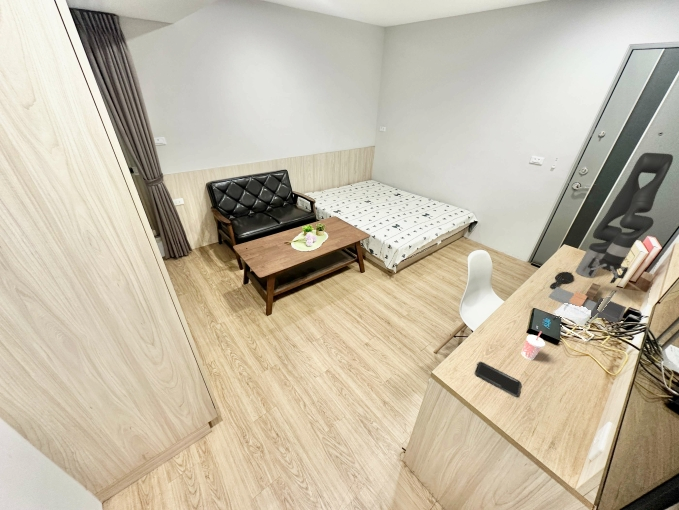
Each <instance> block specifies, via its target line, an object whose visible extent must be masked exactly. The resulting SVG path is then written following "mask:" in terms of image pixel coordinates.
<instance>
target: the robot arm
mask: <svg viewBox="0 0 679 510" xmlns="http://www.w3.org/2000/svg"><path fill="white" fill-rule="evenodd" d="M673 161H674V156H673V154H671V153H660V152H659V153H657V152H644V153H642V154H641V155H640V156H639V158H638V159H637V160H636V162H635V164H634V166H633V168H632V170H631V171H630V174H629V175H628V177H627V179H626V181H625V183H624V185H623V186H622V187H621V189H620V191H619V192H618V194H617V195H616V197H615V198H614V200H613V201H612V203H611V205H610V207H609V208H608V210H607V212H606V214H605V215H604V216H603V218H602V219H601V221H600V222H599V223H598V225H597V226H596V228H595V229H594V231H593V234H592V238H594V239H596V240H599V241H603V242H593V243H591V244H589V247H588V248H587V249H586V251H585V253H584V255H583V257H582V258H581V260H580V262H579V263H578V265H577V267H576V269H575V272H576V273H577V275H580V276H582V277H585V278H589V279H590V278H594V277H595V275H596V274H597V272H598V271H599V269H601V270H606V271H608V272H611V273H612V274H613V277H612V278H611V280H610V282H609V284H614V283H615V282H616V281H617V279H621V280H622V279H624V277H625V275H626V274H627V272H628V271H629V269H630V268H629V267H628V266H622V264H623V263H624V261H625V259H626V258H627V257H628V255H629V254H630V252H631V250H632V248H633V246H634V245H635V244H636V242H637V241H638V239H639V238H640V237H642V236H643V235H644V234H645V233H647V232H648V231H649V230H650V229H651V228H652V227H653V225H654V222H655V221H654V218H652V217H651V216H646V215H640V214H645V213H649V212H650V211H651V210H652V208H653V206H654V202H655V199H656V196H657V194H658V191H659V190H660V188H661V186H662V184H663V182H664V180H665V178H666V176H667V174H668V172H669V170H670V168H671V166H672V164H673ZM642 173H644V174H654V177H653V178H652V179H651V180H650V181H649V182H648V183H646V184H645V185H643V186H642V187H640V183H639V178H640V175H641V174H642ZM621 217H622V218H621ZM619 218H621V219H620V220H619V226H620V227H618V226H615V225H610V223H612V222H613V221H615V220H616V219H619ZM623 229H625V230H632V231H625V232H623ZM619 269H621V271H622V272H621V274H619V273H618V270H619Z"/></svg>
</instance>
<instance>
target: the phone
mask: <svg viewBox="0 0 679 510" xmlns="http://www.w3.org/2000/svg"><path fill="white" fill-rule="evenodd" d="M474 376H475V377H477V378H479V379H481V380H483V381H484V382H486V383H488V384H490V385H491V386H494V387H496V388H497V389H500V390H501V391H503V392H504V393H507V394H508V395H510V396H512V397H514V398H518V397H519V396H520V394H521V393H520V392H521V388H522V382H521V381H520V380H519V379H516V378H515V377H513V376H511V375H508V374H507V373H505V372H503V371H501V370H499V369H497V368H495V367H493V366H491V365H489V364H487V363H485V362H483V361H478V363H477V365H476V368H475V370H474Z"/></svg>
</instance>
